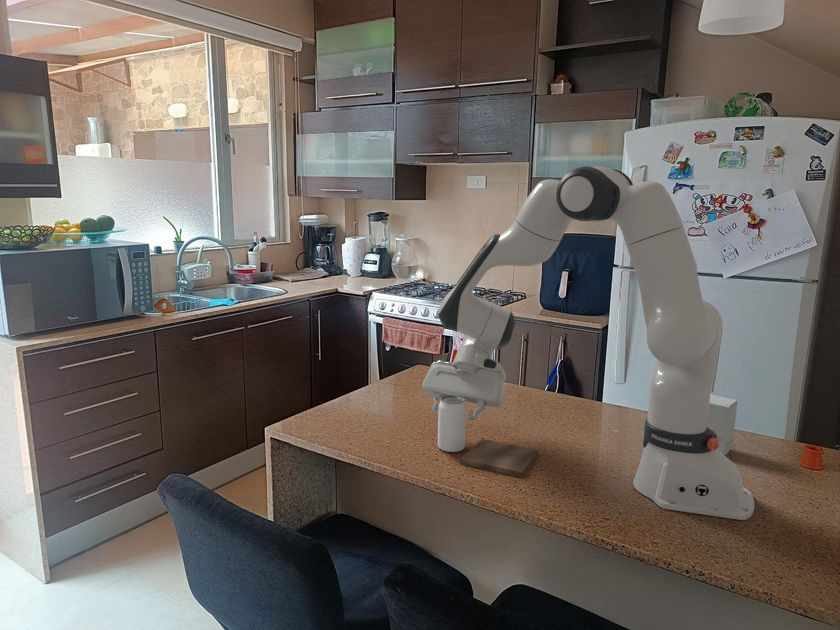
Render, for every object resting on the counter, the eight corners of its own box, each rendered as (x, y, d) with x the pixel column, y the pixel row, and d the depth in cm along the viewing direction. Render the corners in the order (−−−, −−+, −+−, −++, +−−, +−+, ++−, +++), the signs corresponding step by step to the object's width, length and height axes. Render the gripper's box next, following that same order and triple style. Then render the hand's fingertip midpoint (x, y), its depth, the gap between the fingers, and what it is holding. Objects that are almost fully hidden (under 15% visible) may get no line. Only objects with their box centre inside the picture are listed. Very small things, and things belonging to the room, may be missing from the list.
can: (469, 446, 145) (471, 398, 142) (456, 455, 139) (458, 405, 137) (446, 440, 148) (447, 393, 146) (432, 449, 143) (433, 400, 140)
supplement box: (732, 449, 146) (739, 399, 143) (722, 459, 140) (729, 407, 138) (700, 441, 151) (706, 392, 148) (690, 449, 145) (695, 399, 143)
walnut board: (538, 455, 140) (538, 450, 140) (521, 477, 129) (521, 472, 129) (482, 443, 147) (482, 438, 146) (460, 463, 135) (460, 458, 135)
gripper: (429, 353, 152) (410, 401, 145) (507, 364, 143) (490, 417, 136) (436, 366, 157) (418, 413, 150) (512, 378, 148) (496, 429, 141)
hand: (453, 415), depth 143 cm, fingers open, 8 cm apart
